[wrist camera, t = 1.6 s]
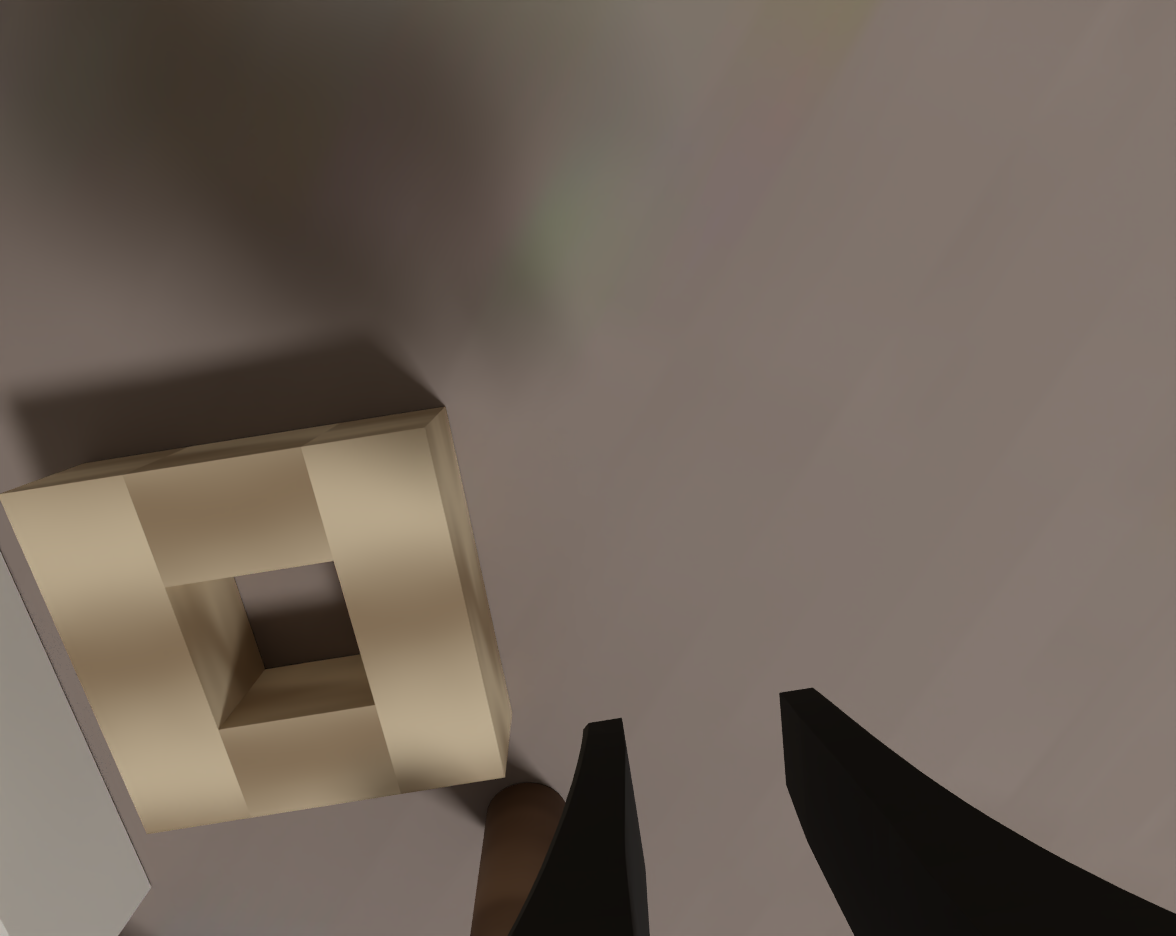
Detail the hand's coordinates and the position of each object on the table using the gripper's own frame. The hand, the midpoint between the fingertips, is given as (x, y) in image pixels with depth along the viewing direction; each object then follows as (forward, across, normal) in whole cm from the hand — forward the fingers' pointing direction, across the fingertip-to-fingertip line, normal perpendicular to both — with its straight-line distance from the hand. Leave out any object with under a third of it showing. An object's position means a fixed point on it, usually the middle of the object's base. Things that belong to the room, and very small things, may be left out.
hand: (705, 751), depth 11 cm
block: (+9, +11, 0) cm, 14 cm away
